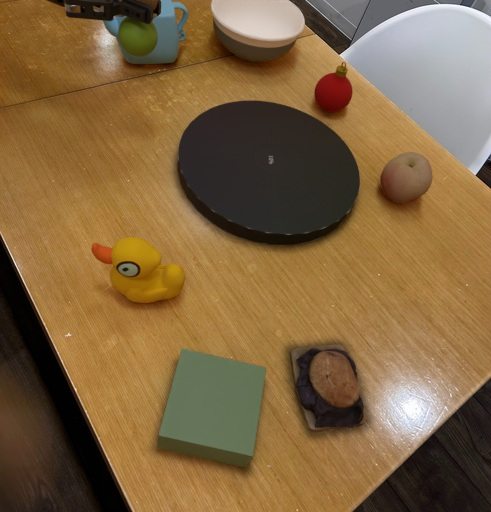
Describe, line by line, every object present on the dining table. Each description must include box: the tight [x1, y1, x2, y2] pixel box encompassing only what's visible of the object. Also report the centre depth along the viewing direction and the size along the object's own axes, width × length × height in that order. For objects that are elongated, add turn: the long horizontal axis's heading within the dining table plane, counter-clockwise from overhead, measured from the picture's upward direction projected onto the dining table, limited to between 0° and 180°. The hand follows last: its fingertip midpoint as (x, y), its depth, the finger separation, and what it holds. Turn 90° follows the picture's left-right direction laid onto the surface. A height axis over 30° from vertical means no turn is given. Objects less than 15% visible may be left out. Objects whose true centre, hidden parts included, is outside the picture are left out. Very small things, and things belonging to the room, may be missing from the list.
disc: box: [176, 99, 361, 246], centre depth 82 cm, size 30×30×3 cm
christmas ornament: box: [313, 61, 353, 113], centre depth 92 cm, size 7×7×10 cm
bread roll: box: [290, 343, 366, 433], centre depth 61 cm, size 11×8×4 cm
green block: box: [156, 347, 267, 469], centre depth 56 cm, size 10×10×5 cm
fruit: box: [379, 151, 434, 204], centre depth 82 cm, size 8×8×8 cm
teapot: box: [102, 0, 189, 65], centre depth 92 cm, size 12×18×12 cm
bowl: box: [210, 0, 306, 63], centre depth 100 cm, size 19×19×8 cm
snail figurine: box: [118, 0, 158, 57], centre depth 67 cm, size 5×6×12 cm
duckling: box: [90, 236, 186, 304], centre depth 62 cm, size 11×5×10 cm, turn 86°
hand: (155, 12), depth 66 cm, fingers closed on snail figurine
